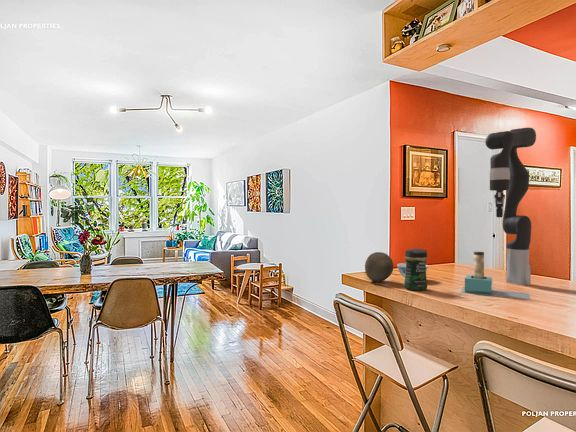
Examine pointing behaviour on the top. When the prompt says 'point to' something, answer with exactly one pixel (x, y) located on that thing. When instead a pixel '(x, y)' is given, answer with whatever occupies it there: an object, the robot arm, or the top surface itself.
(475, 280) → the teal open box
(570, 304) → the top surface
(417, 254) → the coffee jar
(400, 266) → the chinaware
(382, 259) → the dark grey ball
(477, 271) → the dowel
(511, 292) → the board
